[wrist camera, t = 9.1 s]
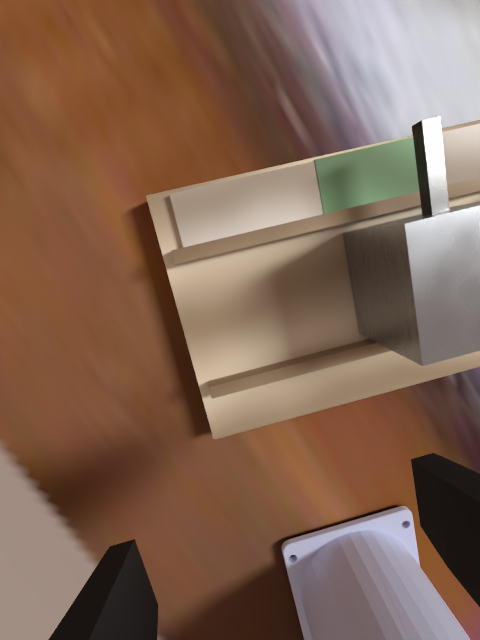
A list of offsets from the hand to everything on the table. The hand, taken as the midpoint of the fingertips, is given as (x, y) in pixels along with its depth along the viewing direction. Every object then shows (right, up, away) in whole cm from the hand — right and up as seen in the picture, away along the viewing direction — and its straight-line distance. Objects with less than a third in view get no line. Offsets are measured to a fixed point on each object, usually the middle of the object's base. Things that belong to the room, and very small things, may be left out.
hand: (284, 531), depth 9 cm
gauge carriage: (+6, +9, +8) cm, 14 cm away
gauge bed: (+7, +8, +9) cm, 14 cm away
